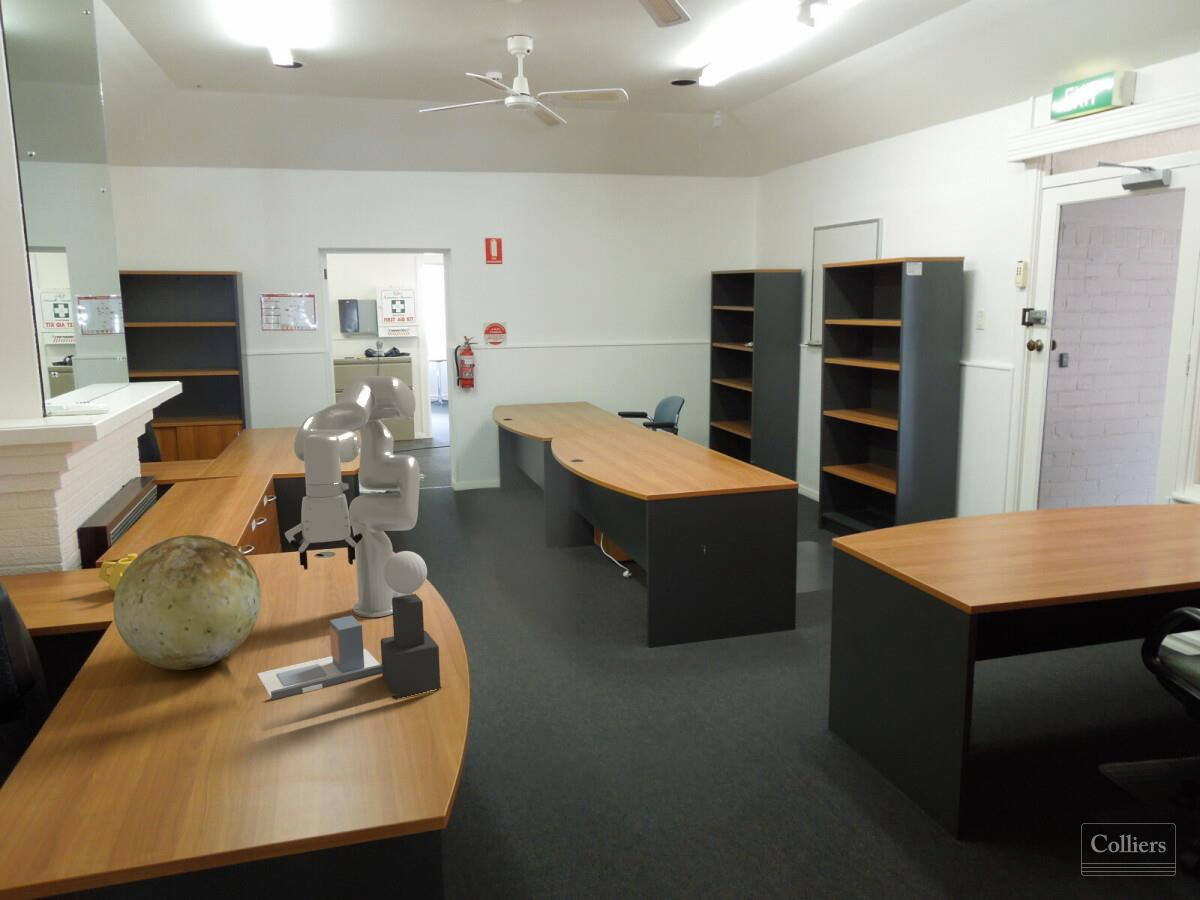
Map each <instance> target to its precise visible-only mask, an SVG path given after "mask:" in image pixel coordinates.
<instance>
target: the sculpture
mask: <svg viewBox="0 0 1200 900" xmlns="http://www.w3.org/2000/svg"><path fill="white" fill-rule="evenodd" d="M384 577H385V580H386V583H387V585H388V586H389V587H390V588H391V589H392V590H394V591H396V592H398V593H403V594H407V593H413V592H416V591H417V590H419V589H420V588H422V586H423V585H424V583H425V582H426V580H427V577H428V568H427V564H426V562H425V560H424V559H423V558H422V556H421V555H419V554H418V553H416V552H414V551H409V550H403V551H398V552H395V554H393V556H392V557H391V558H390V559H389V560H388V561H387V563H386V565H385V569H384ZM423 605H424V604H423V600H422V599H421V598H420V597H419V596H418V595H417V594H416V593H413V594H411V595H405V596H399V597H393V598H392V610H393V614H392V623H393V624H392V625H393V626H392V627H393V636H388V637H384V638H383V637H382V638H381V639H380V653H381V654H380V656H381V657H380V658H381V664H382V673H381V674H382V678H383V679H384V681H385V683H386V684H387V686H388V688H389V689H390V691H391V693H392V694H393V695H392V696H391V697H392V699H393V700H394V699H398V698H402V697H406V698H408V697H407V696H411V695H415V694H419V693H423V692H427V691H430V690H435V689H439V688H440V687H441V669H440V666H441V665H440V649H439V645H438V644H437V643H436V641H435V640H434V639H433V637H432V636H431V635H430V634H429V632H428V631H427V630H425V626H424V625H425V623H424V606H423ZM440 689H441V688H440ZM415 696H416V695H415ZM411 697H412V696H411ZM402 699H403V698H402ZM398 700H399V699H398Z"/></svg>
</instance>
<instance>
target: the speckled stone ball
mask: <svg viewBox="0 0 1200 900" xmlns="http://www.w3.org/2000/svg"><path fill="white" fill-rule="evenodd" d="M139 554H140V555H139ZM139 554H138V555H139V556H138V555H137V557H136V558H135V559H134V560H133V561H132V563H131V564H130V565H129V566H128V567H127V569H126V570H125V572H124V573H123V575H122V577H121V579H120V581H119V583H118V585H117V589H116V592H115V591H114V597H113V617H114V623H115V626H116V630H117V632H118V634H119V636H120V638H121V639H122V641H123V642H124V644H125V645H126V647H128V648H129V650H130V651H132V652H133V654H135V655H136V657H138V658H140V659H142V660H143V661H146V662H147V663H149V664H151V665H154V666H155V667H159V668H163V669H168V670H174V671H175V670H177V671H187V670H194V669H201V668H204V667H208V666H210V665H213V664H216V663H218V662H219V661H222V660H223V659H225V658H227V657H228V656H230V655H231V654H232V653H234V652H235V651H236V650H237V649H239V647H240V646H241V645H242V644H243V643H245V641H246V640H247V639H248V637H249V635H250V634H251V633H252V632H253V631H252V630H253V629H254V627H255V626H256V623H257V620H258V619H259V615H260V611H261V605H262V588H261V584H260V580H259V577H258V574H257V572H256V570H255V568H254V567H253V565H252V563H251V561H249V559H248V558H247V556H246V555H244V554H243V553H242V552H241V551H240V550H239V549H237V548H236V547H234V546H233V545H231V544H230V543H229V542H226V541H223V540H222V539H219V538H215V537H212V536H207V535H202V534H201V535H200V534H199V535H198V534H188V535H187V534H186V535H179V536H175V537H170V538H166V539H164V540H161V541H159V542H156V543H155V544H153V545H151V546H150V547H148V548H146V549H145V550H144V551H142V552H141V553H139Z"/></svg>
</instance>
